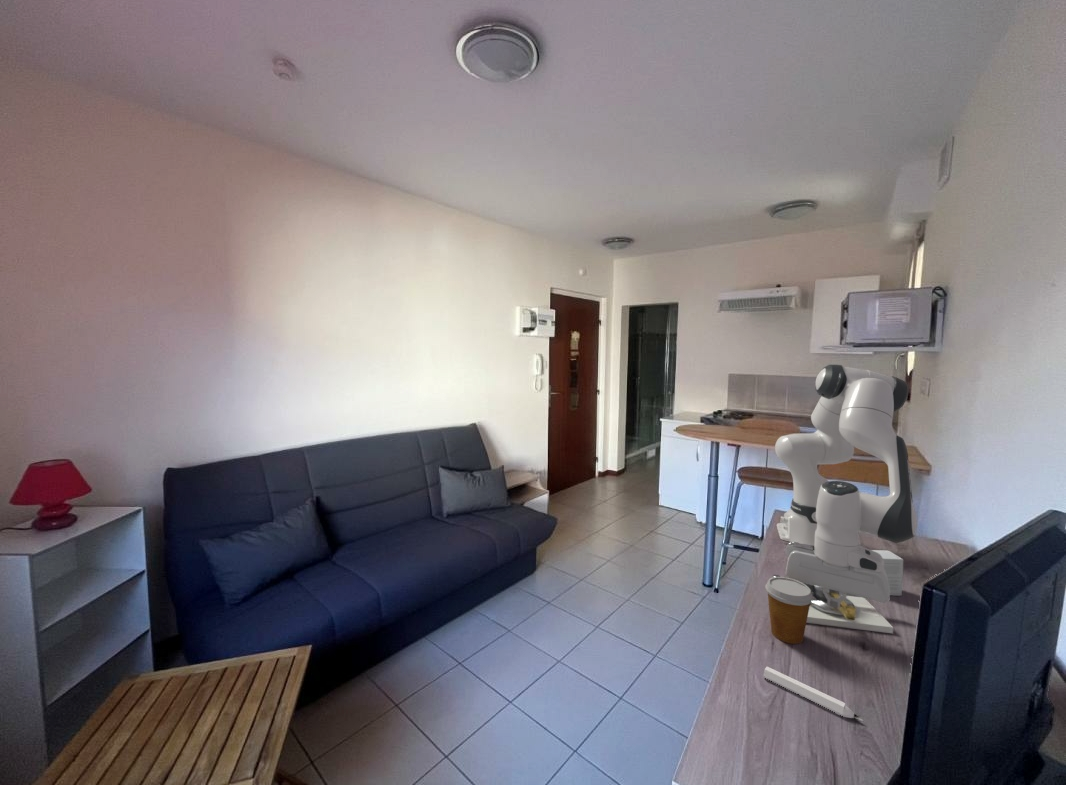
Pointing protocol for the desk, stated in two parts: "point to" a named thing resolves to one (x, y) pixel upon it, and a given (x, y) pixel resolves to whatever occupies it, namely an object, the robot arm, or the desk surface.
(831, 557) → the robot arm
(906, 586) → the desk surface
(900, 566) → the small box
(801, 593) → the disposable coffee cup
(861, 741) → the desk surface
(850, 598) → the stand
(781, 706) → the desk surface
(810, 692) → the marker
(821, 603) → the capstan
